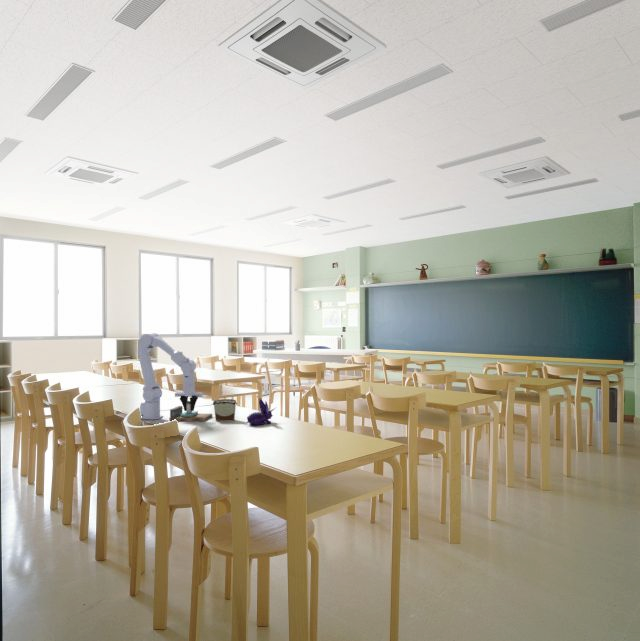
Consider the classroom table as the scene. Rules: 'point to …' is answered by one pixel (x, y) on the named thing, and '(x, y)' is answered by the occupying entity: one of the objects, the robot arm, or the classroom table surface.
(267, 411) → the creature
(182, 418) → the bench base
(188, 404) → the teal plate with post
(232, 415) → the food container
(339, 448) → the classroom table surface
